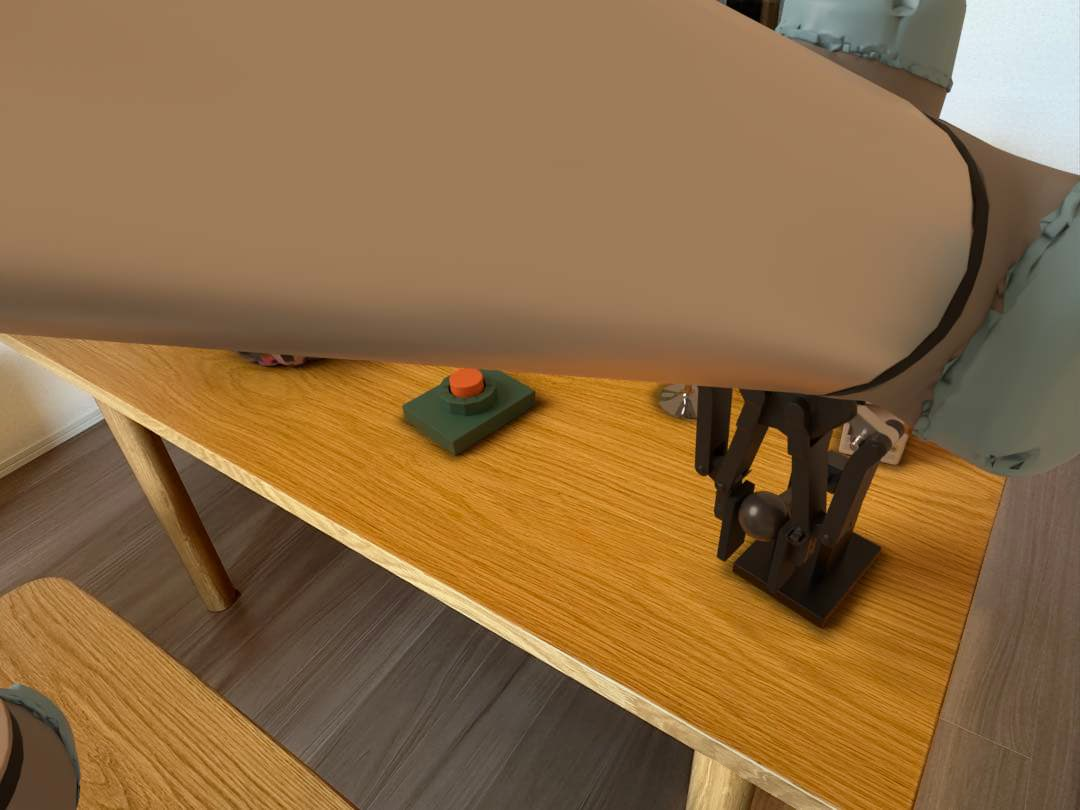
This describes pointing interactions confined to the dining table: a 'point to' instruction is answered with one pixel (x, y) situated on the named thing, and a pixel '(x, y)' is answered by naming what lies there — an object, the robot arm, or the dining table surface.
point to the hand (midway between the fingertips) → (754, 564)
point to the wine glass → (679, 400)
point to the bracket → (812, 573)
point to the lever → (779, 504)
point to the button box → (468, 410)
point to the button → (466, 383)
